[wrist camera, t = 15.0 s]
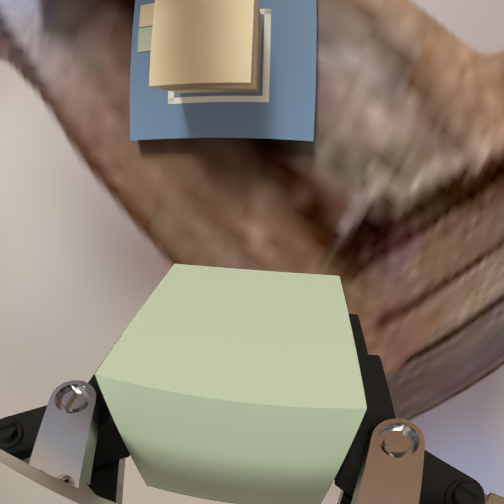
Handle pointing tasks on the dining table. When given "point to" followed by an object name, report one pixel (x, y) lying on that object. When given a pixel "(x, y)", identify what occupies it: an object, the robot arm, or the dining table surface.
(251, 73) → the pine block
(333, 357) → the green block
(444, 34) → the dining table surface
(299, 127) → the board
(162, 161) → the dining table surface
